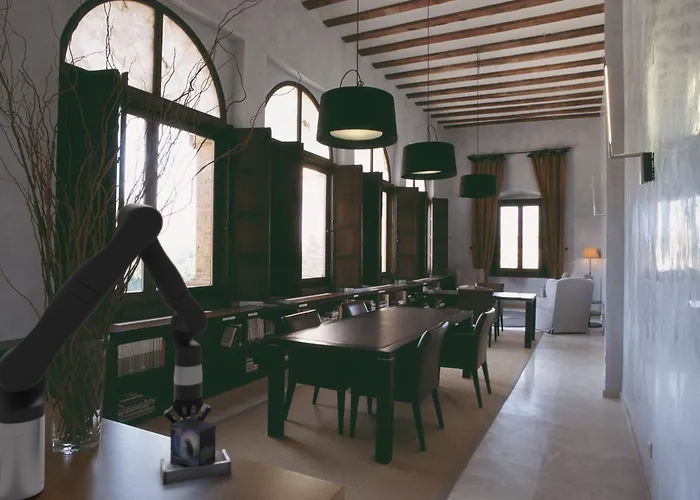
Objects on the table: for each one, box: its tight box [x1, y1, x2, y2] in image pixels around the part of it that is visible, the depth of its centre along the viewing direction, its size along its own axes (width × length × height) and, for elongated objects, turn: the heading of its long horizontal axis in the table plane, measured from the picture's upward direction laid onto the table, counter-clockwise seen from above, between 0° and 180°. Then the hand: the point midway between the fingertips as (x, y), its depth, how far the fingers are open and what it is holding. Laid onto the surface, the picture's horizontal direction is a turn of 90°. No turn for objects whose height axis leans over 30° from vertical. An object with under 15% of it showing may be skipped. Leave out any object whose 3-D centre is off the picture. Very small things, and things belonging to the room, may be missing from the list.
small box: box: [169, 417, 217, 468], centre depth 131 cm, size 11×6×10 cm, turn 62°
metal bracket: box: [159, 448, 232, 486], centre depth 126 cm, size 16×8×3 cm, turn 115°
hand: (187, 442), depth 140 cm, fingers closed
